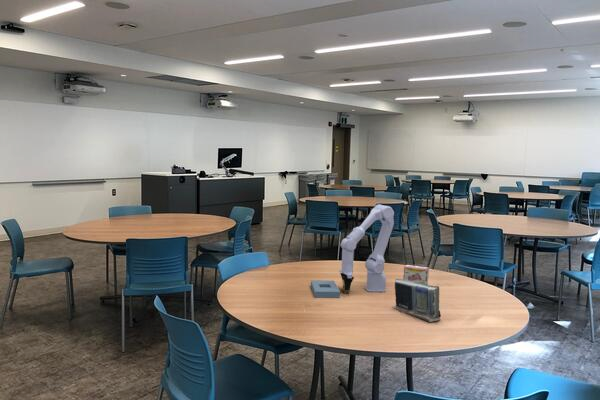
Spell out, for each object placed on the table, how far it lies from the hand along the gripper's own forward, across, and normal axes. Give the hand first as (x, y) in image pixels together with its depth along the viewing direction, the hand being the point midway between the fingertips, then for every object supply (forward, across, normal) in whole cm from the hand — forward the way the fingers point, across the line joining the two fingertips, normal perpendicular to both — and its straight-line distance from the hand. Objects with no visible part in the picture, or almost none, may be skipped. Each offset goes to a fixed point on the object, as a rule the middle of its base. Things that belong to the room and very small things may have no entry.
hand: (346, 288), depth 230 cm
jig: (+2, 0, -11) cm, 11 cm away
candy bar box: (+2, +13, +31) cm, 34 cm away
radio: (+2, +33, +24) cm, 41 cm away
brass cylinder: (+2, 0, 0) cm, 2 cm away
